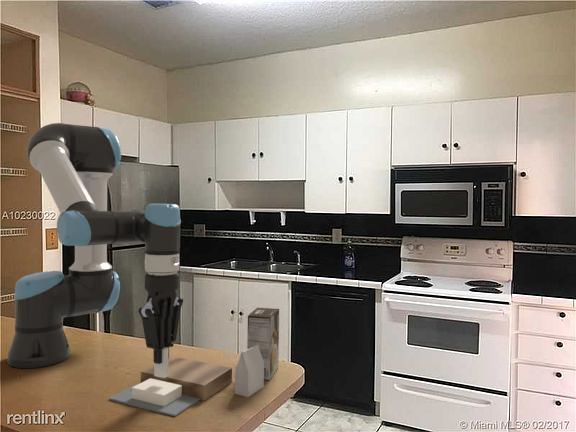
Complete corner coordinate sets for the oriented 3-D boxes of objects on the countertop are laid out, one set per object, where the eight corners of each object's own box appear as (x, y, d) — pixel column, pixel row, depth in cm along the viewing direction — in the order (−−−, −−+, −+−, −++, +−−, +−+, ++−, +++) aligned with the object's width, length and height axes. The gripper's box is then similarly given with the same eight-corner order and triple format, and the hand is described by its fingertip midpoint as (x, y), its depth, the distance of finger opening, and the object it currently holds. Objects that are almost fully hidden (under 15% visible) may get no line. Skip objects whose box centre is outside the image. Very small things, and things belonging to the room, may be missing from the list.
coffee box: (255, 365, 128) (256, 306, 127) (278, 367, 126) (280, 308, 126) (246, 378, 119) (247, 315, 118) (270, 380, 117) (272, 316, 117)
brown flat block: (140, 386, 112) (140, 371, 112) (172, 369, 123) (172, 356, 123) (204, 400, 105) (204, 385, 105) (231, 381, 116) (232, 367, 116)
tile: (131, 398, 105) (131, 387, 105) (150, 388, 110) (150, 378, 110) (164, 406, 101) (164, 395, 101) (181, 395, 106) (181, 385, 106)
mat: (109, 399, 104) (109, 397, 104) (136, 385, 112) (136, 383, 112) (175, 416, 97) (175, 414, 97) (199, 400, 105) (199, 398, 105)
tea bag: (263, 387, 113) (264, 346, 113) (247, 397, 108) (248, 353, 107) (250, 383, 115) (251, 343, 115) (234, 393, 109) (235, 351, 109)
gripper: (156, 278, 98) (155, 389, 99) (193, 269, 110) (192, 369, 111) (128, 275, 101) (127, 383, 102) (167, 267, 113) (166, 364, 114)
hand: (161, 375), depth 107 cm, fingers closed
